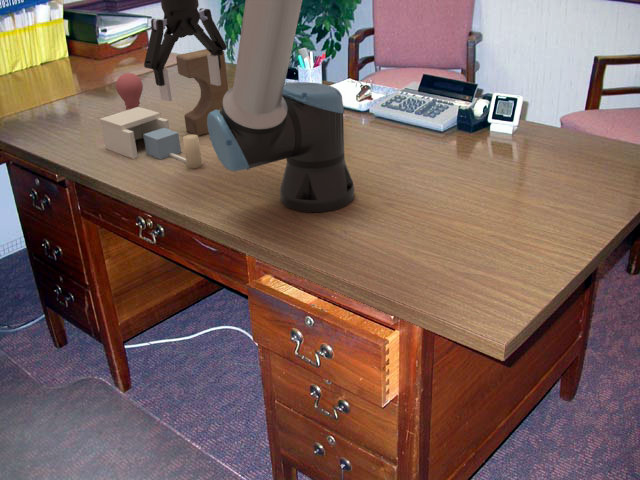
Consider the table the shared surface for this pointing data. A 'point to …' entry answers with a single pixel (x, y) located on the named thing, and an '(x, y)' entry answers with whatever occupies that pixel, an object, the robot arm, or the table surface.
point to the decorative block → (202, 88)
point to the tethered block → (173, 146)
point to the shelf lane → (130, 129)
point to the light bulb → (129, 89)
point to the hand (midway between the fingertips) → (191, 92)
